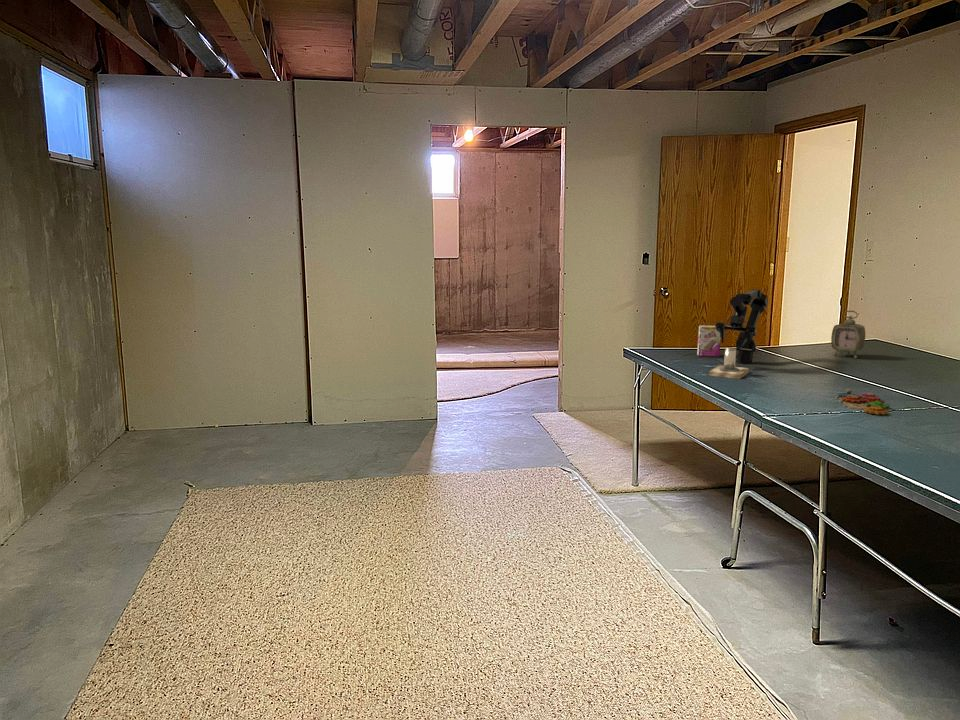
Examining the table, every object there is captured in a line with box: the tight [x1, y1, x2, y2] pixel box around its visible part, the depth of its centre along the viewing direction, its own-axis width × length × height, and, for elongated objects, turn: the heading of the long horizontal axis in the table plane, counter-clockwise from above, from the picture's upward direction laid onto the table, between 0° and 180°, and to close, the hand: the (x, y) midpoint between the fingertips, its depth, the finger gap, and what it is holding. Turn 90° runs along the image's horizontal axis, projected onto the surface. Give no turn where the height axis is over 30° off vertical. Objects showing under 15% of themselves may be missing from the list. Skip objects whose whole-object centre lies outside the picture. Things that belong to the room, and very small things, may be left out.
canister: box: [723, 346, 737, 370], centre depth 330 cm, size 5×5×10 cm
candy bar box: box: [696, 325, 722, 358], centre depth 377 cm, size 11×5×16 cm, turn 84°
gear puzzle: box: [834, 388, 892, 415], centre depth 271 cm, size 31×16×4 cm, turn 165°
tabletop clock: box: [830, 310, 866, 359], centre depth 372 cm, size 14×9×25 cm, turn 43°
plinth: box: [708, 365, 750, 380], centre depth 331 cm, size 14×18×2 cm
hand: (731, 344), depth 339 cm, fingers open, 9 cm apart
